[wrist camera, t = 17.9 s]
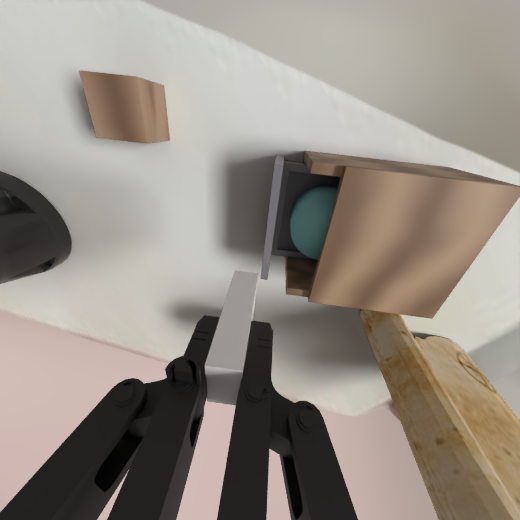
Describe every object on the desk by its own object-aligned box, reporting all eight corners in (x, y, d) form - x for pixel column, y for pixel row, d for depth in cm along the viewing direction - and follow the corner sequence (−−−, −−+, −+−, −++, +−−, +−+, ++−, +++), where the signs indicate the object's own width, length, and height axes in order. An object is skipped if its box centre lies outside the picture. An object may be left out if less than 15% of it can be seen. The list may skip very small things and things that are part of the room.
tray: (264, 251, 32) (260, 278, 26) (276, 154, 25) (274, 163, 19) (390, 268, 31) (413, 299, 26) (437, 173, 24) (481, 188, 19)
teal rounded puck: (347, 248, 29) (354, 262, 26) (286, 243, 30) (286, 256, 27) (365, 187, 25) (376, 195, 22) (294, 181, 26) (295, 189, 23)
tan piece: (472, 355, 39) (819, 783, 14) (438, 370, 42) (672, 746, 17) (384, 287, 33) (703, 808, 8) (352, 310, 36) (510, 745, 11)
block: (127, 135, 26) (96, 137, 21) (116, 80, 23) (79, 70, 19) (169, 140, 26) (146, 143, 21) (163, 85, 23) (136, 76, 19)
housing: (285, 257, 32) (286, 298, 25) (304, 150, 25) (314, 163, 17) (396, 271, 32) (432, 318, 24) (450, 167, 24) (526, 187, 17)
